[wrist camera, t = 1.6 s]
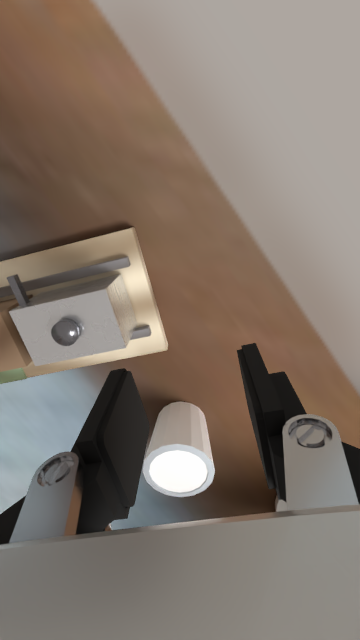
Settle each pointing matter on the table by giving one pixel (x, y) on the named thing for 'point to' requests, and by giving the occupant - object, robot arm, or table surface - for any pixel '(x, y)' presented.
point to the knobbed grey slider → (74, 319)
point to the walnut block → (11, 339)
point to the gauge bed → (82, 266)
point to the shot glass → (179, 452)
